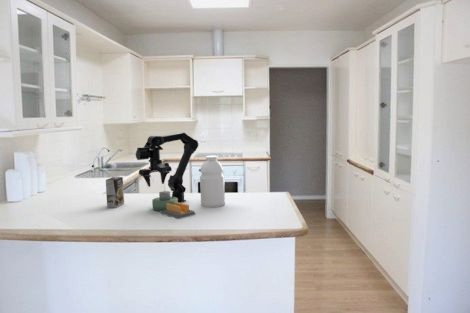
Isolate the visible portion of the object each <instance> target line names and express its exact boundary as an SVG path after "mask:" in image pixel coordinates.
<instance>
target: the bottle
mask: <svg viewBox="0 0 470 313" xmlns="http://www.w3.org/2000/svg"><path fill="white" fill-rule="evenodd" d="M199 171H200V173H201V175H200V176H199V180H200V181H199V184H200V205H201V206H202V207H204V208H218V207H223V206H224V205H225V204H226V200H225V199H226V196H225V175H224V174H223V172H224V168H223V165H222V164H221V162H220V161H219V160H218V155H206V156H205V161H204V162H203V163H202V165H201V166H200V170H199Z"/></svg>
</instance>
